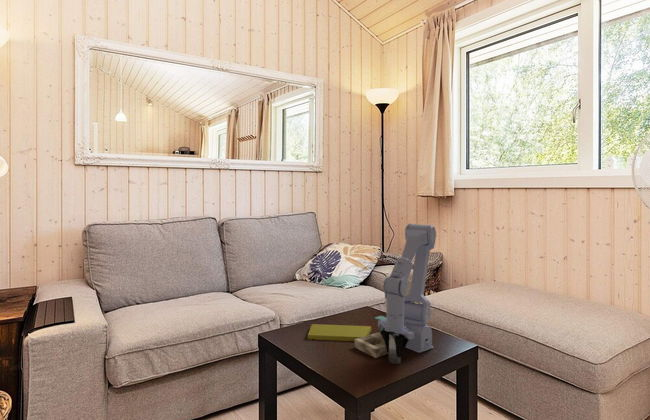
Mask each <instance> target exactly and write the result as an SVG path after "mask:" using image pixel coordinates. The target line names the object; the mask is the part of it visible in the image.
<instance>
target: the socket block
mask: <svg viewBox="0 0 650 420" xmlns="http://www.w3.org/2000/svg"><path fill="white" fill-rule="evenodd" d="M354 348H355V349H358V351H361V352H363V353H364V354H367V355H369V356H371V357H373V358H374V359H377V358H380V357H383V356H386V355H389V353H388V352H387V349H386V345H385V342H384V339H383V337H382V335H381V334H380V331H379V332H376V333H372V334H369V335H368V336H364V337H361V338H357V339H355V341H354Z"/></svg>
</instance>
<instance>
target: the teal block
mask: <svg viewBox="0 0 650 420" xmlns="http://www.w3.org/2000/svg"><path fill="white" fill-rule="evenodd" d="M374 320H375V321H377V322H378V321H381V320H383V321H386V316H383V315H378V316H375V317H374ZM382 330H383V328H382V327H379V332H380V331H382Z"/></svg>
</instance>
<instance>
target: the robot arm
mask: <svg viewBox="0 0 650 420" xmlns="http://www.w3.org/2000/svg"><path fill="white" fill-rule="evenodd" d="M436 231H437V230H436V227H435V225H434V224H417V223H415V224H414V223H408V224H407V225H406V226H405V229H404V238H405V244H404V246H403V247H404V248H403V251H402V255H401V257H399V258H397V259H396V261H395V262H394V263H395V264H394V266H393V268H392V271H391V273H390V275H389V276H388V277H386V278H385V279H384V281H383V286H382V289H383V292H384V299H386V308H385V309H386V313H385V314H386V316H385V317H386V321H383V320H381V321H378V320H377V328H380V327H382V328H383V330H382V331H380V330H379V332H380V334H381V335H382V337H383V339H384V342H385V345H386V349H387V352H388V353H389V333H392V332H394V333H397V334H399V336H395V337H394V340H395V343H396V354H397V357H401V358H402V357H403V356H404V353H405V349H408V350H411V351H413V352H416V353H419V354H420V353H423V352H426V351H428V350H431V349H434V346H433V330H432V328H431V326H429V325H428V324H427V323H428V322H429V320H430V318H431V302H430V300H429V299H428V298H427V297H426V296H425V295H424V294H425V288H426V281H427V272H428V266H429V259H430V254H431V253H430V252H431V250H433V249H435V244H436V238H437V232H436ZM413 259H414V264H413V263H412V261H413ZM411 272H412V275H411V282H410V291H409V293H407V292H408V289H409V277H410V274H411ZM419 303H420V304H419Z"/></svg>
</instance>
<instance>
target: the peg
mask: <svg viewBox="0 0 650 420" xmlns="http://www.w3.org/2000/svg"><path fill="white" fill-rule="evenodd" d="M395 336H399V334H397V333H394V332H392V333H389V354H388V362H389V363H390V364H394V365H398V364H399V365H400V364H401V363H402V357H397V354H396V343H395V340H394V337H395Z"/></svg>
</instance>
